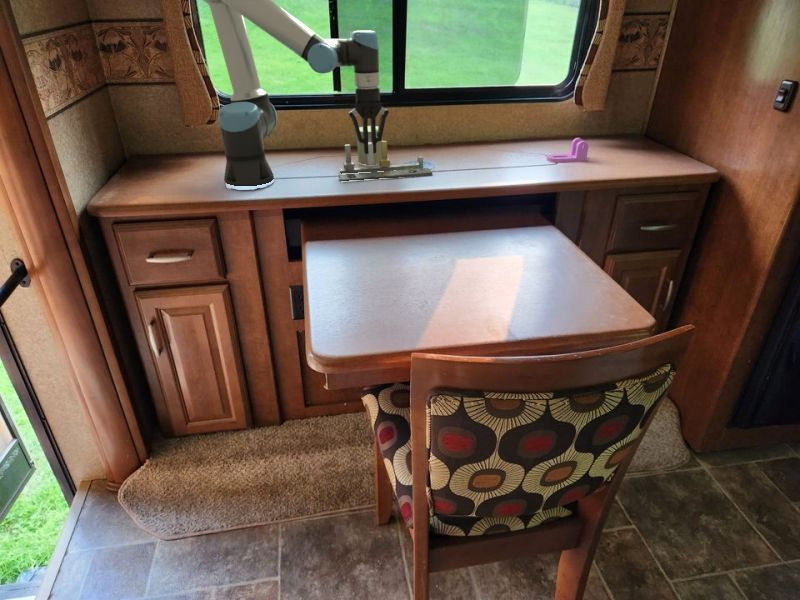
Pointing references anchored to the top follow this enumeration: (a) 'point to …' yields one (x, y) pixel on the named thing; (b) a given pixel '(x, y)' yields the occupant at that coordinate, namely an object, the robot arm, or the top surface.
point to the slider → (384, 155)
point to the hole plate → (387, 174)
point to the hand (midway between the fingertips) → (370, 163)
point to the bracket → (572, 153)
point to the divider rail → (350, 166)
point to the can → (361, 154)
